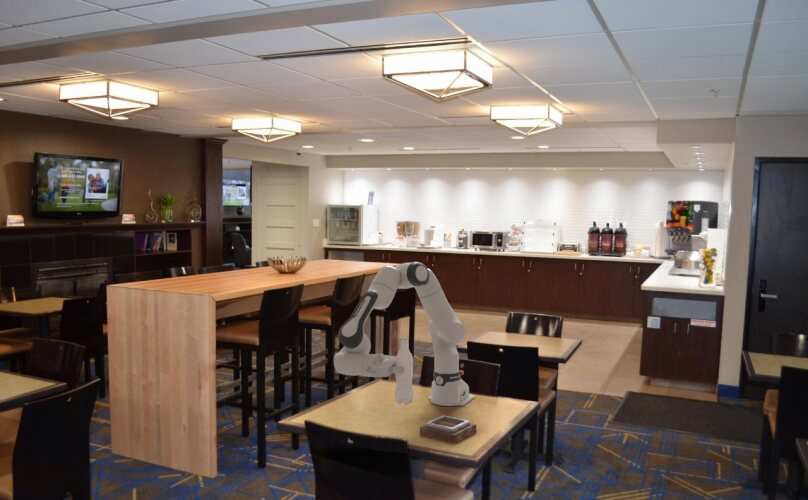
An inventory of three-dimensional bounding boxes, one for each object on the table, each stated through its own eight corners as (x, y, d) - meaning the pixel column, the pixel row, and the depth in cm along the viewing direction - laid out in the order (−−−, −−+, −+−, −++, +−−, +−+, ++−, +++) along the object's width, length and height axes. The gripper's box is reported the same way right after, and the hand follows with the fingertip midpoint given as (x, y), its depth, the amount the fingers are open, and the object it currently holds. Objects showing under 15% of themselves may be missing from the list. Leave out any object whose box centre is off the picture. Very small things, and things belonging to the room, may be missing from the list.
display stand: (442, 424, 264) (442, 413, 264) (476, 431, 255) (476, 420, 255) (419, 434, 251) (419, 423, 251) (454, 443, 242) (454, 431, 242)
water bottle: (394, 400, 256) (394, 337, 255) (412, 400, 257) (412, 337, 255) (395, 405, 249) (395, 341, 248) (414, 405, 250) (414, 341, 248)
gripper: (363, 363, 246) (398, 365, 242) (380, 352, 265) (413, 354, 261) (363, 379, 246) (398, 382, 242) (381, 367, 266) (413, 369, 262)
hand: (406, 367), depth 252 cm, fingers closed on water bottle, 7 cm apart
